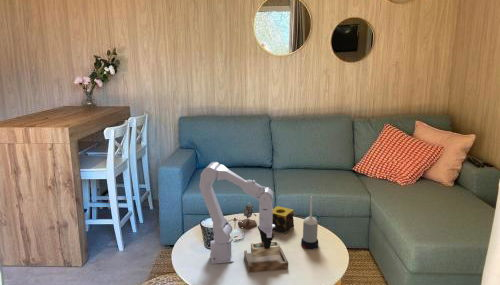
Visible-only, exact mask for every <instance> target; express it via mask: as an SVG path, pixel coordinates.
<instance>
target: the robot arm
mask: <svg viewBox="0 0 500 285" xmlns="http://www.w3.org/2000/svg"><path fill="white" fill-rule="evenodd" d="M216 180H217V181H223V180H226V181H228V182H230V183H232V184H235V185H237V187H241V188H242V189H241V190H243V192H244V193H246V194H247V195H249V196H251V197H253V198H255V199H256V200H257V202H258V203H259V207H258V213H259V214H258V216H259V217H258V221H259V222H258V225H257V230H258V232H259V235H260V240H261V242H263V243H264V248H265V249H269V248H270V245H271V241H273V239H274V237H275V233H272V232H273V230H272V229H273V228H275V225H274V224H272V220H273V209H274V207H273V205H274V204H273V198H274V191H273V189H272V188H270V187H269V186H268V187H267V186H264V185H263V186H262V185H261V184H259V183H257V182H256V180H254V179H253V180H252V179H244V178H243V177H241V176H240V175H238V173H235V172H233V170H230V169H229V168H228V167H226V166H225V165H224V164H220V163H219V162H218V161H211V162H210V163H209V164H207V166H206V167H205V168H203V170H202V171H201V173H200V180H199V185H198V188H199V190H200V192H201V195H202V197H203V200H204V204H205V205H206V208H207V211H208V214H209V215H210V219H211V222H212V232H213V240H210V243H209V244H210V254H209V255H210V260H211V264H213V265H215V264H225V263H233V262H234V258H233V253H232V237H231V234H232V231H233V225H231V224H230V223H229V221H228V220H227V218H225V217H224V214H223V211H222V209H221V205H220V203H219V201H218V198H217V195H216V193H215V190H214V188H213V184H214V182H215V181H216Z"/></svg>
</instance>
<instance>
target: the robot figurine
mask: <svg viewBox="0 0 500 285" xmlns="http://www.w3.org/2000/svg"><path fill="white" fill-rule="evenodd" d="M253 208H254V206H253V205H251V203H250V202H248V205H246V206H245V209H244V210H243V217H246V218H245V219H242V220H239V221H238V223H237V224H238V227H239V226H240V227H243V228H242V229H245V230H252V229H254V228H257V227H258V224H257V221H256V220H255V219H250V218H251V217H252V215H253V216H255V217H257V214H256V213H254V211H253ZM240 221H242V222H243V223H242V222H240ZM240 227H239V228H240Z"/></svg>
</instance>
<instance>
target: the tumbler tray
mask: <svg viewBox="0 0 500 285" xmlns="http://www.w3.org/2000/svg"><path fill="white" fill-rule="evenodd" d="M280 248H281V245H280V243H279V241H278V240H272V241H271V245H270V248H269V249H265V248H264V243H263V242H262V241H261V242H259V241H258V242H250V253H252V256H253V257H262V256H271V255H280Z"/></svg>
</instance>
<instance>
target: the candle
mask: <svg viewBox="0 0 500 285" xmlns="http://www.w3.org/2000/svg"><path fill="white" fill-rule="evenodd" d="M294 211H295V209H292V208H288V207H284V206H278V205H277V206H275V207H273V220H272V224H274V225H275V228H273V229H272V232H276V233H280V234H283V235H284V234H287V233H288V232H290V231H291V229H292V228H294V227H295V224H294V223H295V222H294V221H295V220H294V213H295V212H294Z"/></svg>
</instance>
